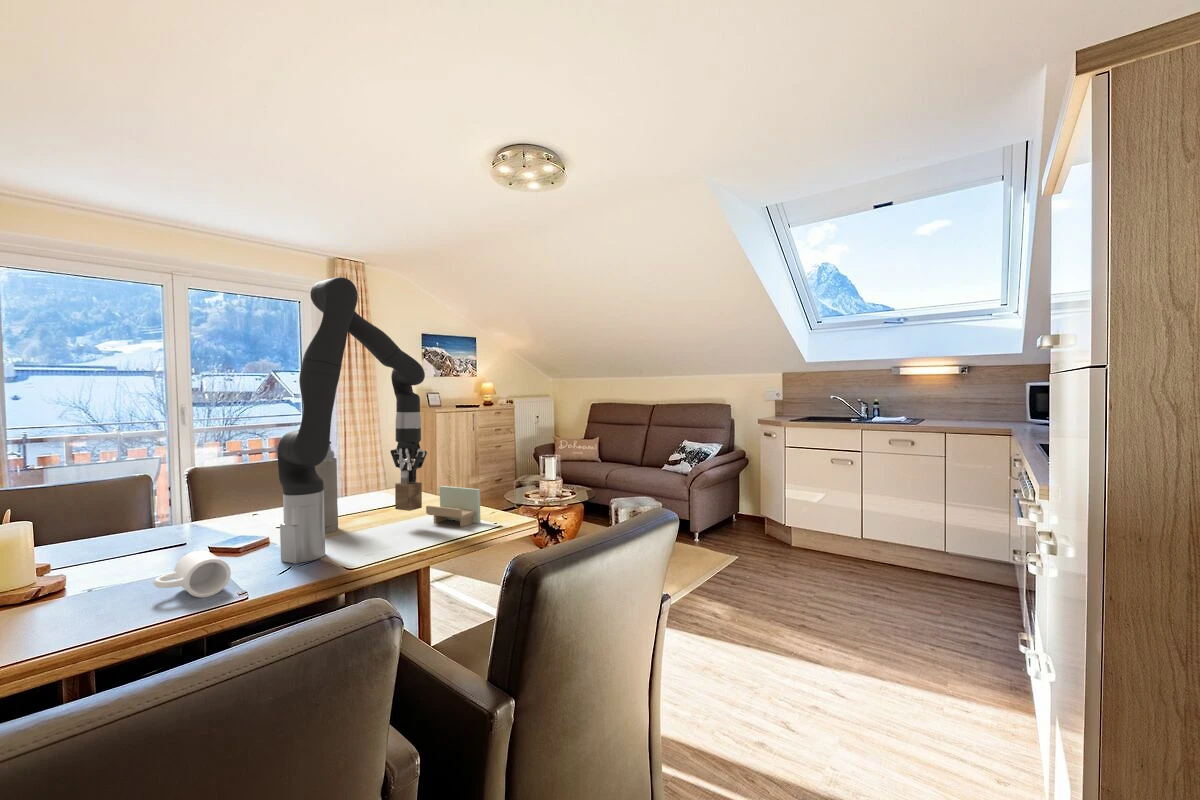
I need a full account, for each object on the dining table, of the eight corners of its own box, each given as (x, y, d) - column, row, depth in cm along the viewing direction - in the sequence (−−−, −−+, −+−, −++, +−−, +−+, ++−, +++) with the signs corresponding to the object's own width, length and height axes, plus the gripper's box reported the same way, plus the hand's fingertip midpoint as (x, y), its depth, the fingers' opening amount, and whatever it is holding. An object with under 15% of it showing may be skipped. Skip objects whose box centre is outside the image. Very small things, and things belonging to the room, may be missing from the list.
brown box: (409, 511, 157) (409, 471, 157) (394, 509, 160) (394, 470, 160) (421, 507, 162) (421, 469, 162) (407, 506, 165) (407, 468, 165)
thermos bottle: (308, 535, 156) (305, 443, 155) (310, 529, 163) (308, 441, 162) (337, 531, 159) (335, 441, 158) (338, 525, 166) (336, 439, 166)
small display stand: (462, 529, 160) (462, 494, 160) (424, 524, 167) (423, 490, 167) (480, 522, 168) (479, 489, 168) (442, 518, 175) (442, 485, 174)
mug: (217, 580, 119) (217, 546, 118) (231, 591, 112) (230, 554, 112) (149, 597, 109) (148, 560, 109) (160, 609, 103) (159, 570, 103)
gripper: (382, 426, 161) (382, 482, 161) (415, 427, 155) (416, 485, 155) (401, 425, 167) (401, 478, 167) (433, 426, 161) (434, 481, 161)
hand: (408, 481), depth 161 cm, fingers closed on brown box, 2 cm apart
